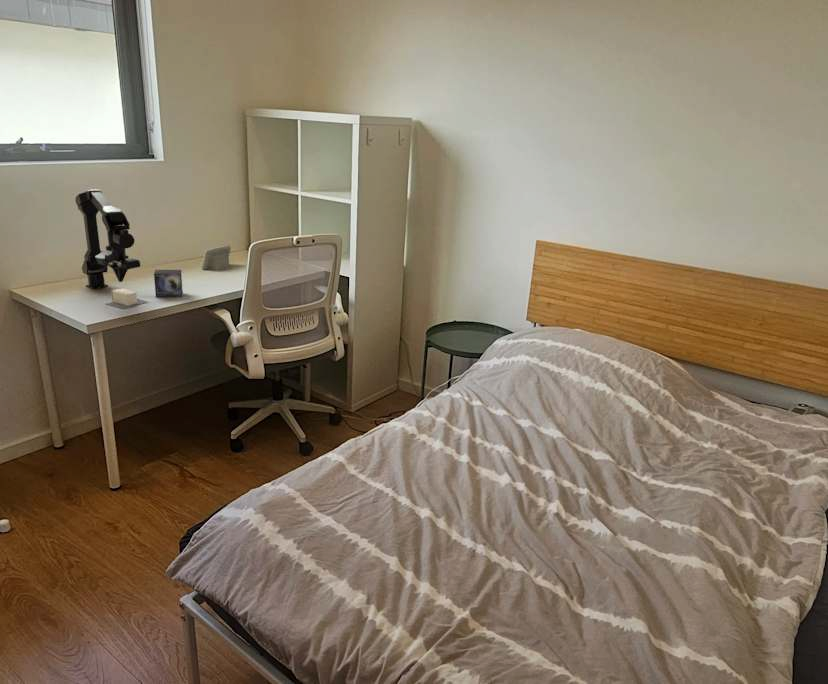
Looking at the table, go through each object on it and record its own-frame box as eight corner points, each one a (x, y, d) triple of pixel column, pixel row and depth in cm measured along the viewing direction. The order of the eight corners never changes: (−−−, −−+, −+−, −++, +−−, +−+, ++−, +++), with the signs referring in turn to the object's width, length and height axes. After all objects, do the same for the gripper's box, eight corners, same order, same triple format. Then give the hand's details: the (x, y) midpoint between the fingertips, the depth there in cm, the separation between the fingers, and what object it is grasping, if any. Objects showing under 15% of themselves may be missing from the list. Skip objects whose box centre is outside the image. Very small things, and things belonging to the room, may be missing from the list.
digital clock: (225, 263, 314) (225, 243, 310) (236, 267, 309) (235, 246, 305) (197, 268, 302) (196, 247, 298) (208, 272, 297) (206, 250, 293)
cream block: (111, 290, 244) (126, 294, 241) (121, 288, 248) (136, 292, 244) (112, 301, 246) (127, 305, 242) (122, 298, 250) (137, 303, 246)
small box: (155, 297, 255) (153, 273, 251) (156, 293, 260) (154, 269, 257) (182, 297, 258) (180, 273, 254) (183, 292, 263) (181, 269, 260)
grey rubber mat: (105, 304, 243) (105, 303, 243) (131, 297, 253) (131, 297, 253) (122, 309, 238) (122, 308, 238) (148, 302, 248) (148, 301, 248)
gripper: (82, 242, 235) (87, 281, 241) (114, 250, 227) (118, 290, 233) (107, 238, 245) (112, 276, 250) (139, 245, 237) (143, 284, 242)
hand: (120, 281), depth 244 cm, fingers closed
